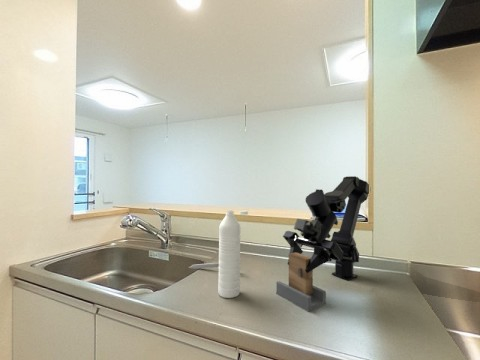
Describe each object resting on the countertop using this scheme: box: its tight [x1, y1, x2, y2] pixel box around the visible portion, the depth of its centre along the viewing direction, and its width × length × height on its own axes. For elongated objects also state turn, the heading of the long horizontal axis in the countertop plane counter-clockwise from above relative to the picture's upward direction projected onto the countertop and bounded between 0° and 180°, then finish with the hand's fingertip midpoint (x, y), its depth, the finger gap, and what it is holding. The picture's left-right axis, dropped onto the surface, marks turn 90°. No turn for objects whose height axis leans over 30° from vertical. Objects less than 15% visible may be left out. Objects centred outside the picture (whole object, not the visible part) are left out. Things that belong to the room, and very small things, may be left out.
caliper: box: [188, 261, 219, 270], centre depth 89 cm, size 20×1×6 cm, turn 73°
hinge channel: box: [275, 280, 327, 312], centre depth 68 cm, size 7×12×4 cm, turn 34°
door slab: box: [288, 252, 314, 295], centre depth 68 cm, size 4×6×10 cm, turn 34°
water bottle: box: [217, 210, 249, 299], centre depth 71 cm, size 9×6×25 cm
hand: (297, 268), depth 67 cm, fingers closed on door slab, 6 cm apart
